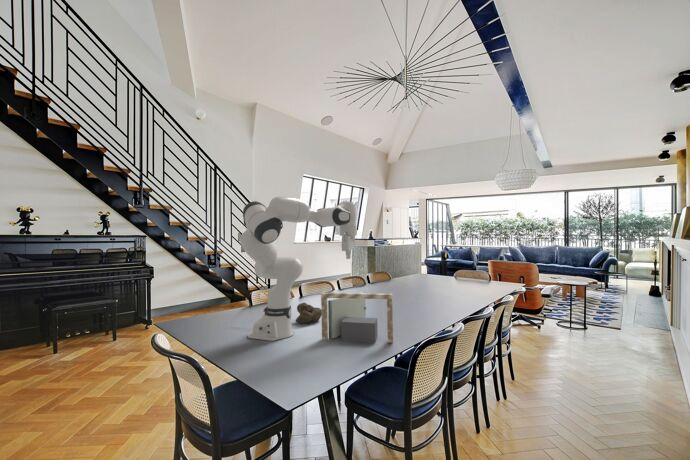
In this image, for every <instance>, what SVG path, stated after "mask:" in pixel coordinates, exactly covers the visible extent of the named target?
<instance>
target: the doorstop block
mask: <svg viewBox="0 0 690 460" xmlns="http://www.w3.org/2000/svg"><path fill="white" fill-rule="evenodd" d="M340 336H341V341H344V342H358V343H359V342H361V343H373V342H375V343H376V342H377V339H378V317H366V318H364V317H345V318H344V319H343V320H342V321H341V335H340Z"/></svg>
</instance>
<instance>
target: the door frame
mask: <svg viewBox="0 0 690 460" xmlns="http://www.w3.org/2000/svg"><path fill="white" fill-rule="evenodd" d="M320 295H321V296H320V299H321V300H320V305H321V306H320V307H321V308H320V309H321V341H327V340H328V339H329V321H328V299H336V298H354V299H365V300H369V299H370V300H386V314H387V315H386V323H387V325H386V328H387V344H394V320H393V319H394V318H393V317H394V316H393V315H394V314H393V311H394V310H393V293H369V292H368V293H366V292H365V293H361V292H357V293H356V292H320Z"/></svg>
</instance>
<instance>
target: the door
mask: <svg viewBox="0 0 690 460" xmlns="http://www.w3.org/2000/svg"><path fill="white" fill-rule="evenodd" d="M360 293H366V291H361V292H360ZM366 310H367V306H366V299H354V298H331V299H329V300H327V311H328V339H329V340H331V339H334V338H337V337H340V336H341V321H342V320H343V319H344V318H345V317H364V318H367V316H366V314H367V313H366Z"/></svg>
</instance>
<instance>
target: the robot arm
mask: <svg viewBox="0 0 690 460" xmlns="http://www.w3.org/2000/svg"><path fill="white" fill-rule="evenodd" d="M268 204H269V205H268V206H267V207H266V205H264V204H263V203H262V202H260V201H256V200H254V201H250V202H248V203H247V204H245V206H244V207H243V210H242V217H243V226H245V227H246V230H245V231H244V232H243V233H242V234H241V235H240V237H239V243H240V246H241V247H242V249H243V251H244V252H245V253H246V254H247V255H248V256H249V257H250V258H251V259H252V260H253V261H254V263H255V264H254V267H253V268H254V274H255V275H256V276H257V277H259V278H262V279H268V280H276V283H275V285H274V286H273V287H271V288H270V289H269V290H268V292H267V306H266V307H264V309H263V310H262V311H263V313H264V314H263V315H262V316H260V317H259V318H258V319H257V320H256V321H254V323H253V326H252V330H251V331H250V332H248V334H247V338H248V339H254V340H256V339H257V340H263V341H270V342H271V341H272V342H273V341H277V340H281V339H286V338H289V337H292V336H293V335H294V334H295V333H294V329H293V324H292V305H291V291H292V287H293V285H294V283H295V281H296V280H298V279H299V278H300V277H301V275H302V274H303V269H304V268H303V267H304V266H303V263H302V262H301V260H300V259H298V258H295V257H289V256H288V257H287V256H286V257H282V256H281V257H279V256H278V251H277V248H276V247H275V246H274V245H273V243H274V242H275V241H276V240H277V239H278V238H279V236H280V235H281V231H282V229H283V228H284V227H283V226H284V224H283V222H289V223H305V222H309V223H310V222H311V223H314V224H315V225H316V226H318V227H320V228H327V227H339V236H340V237H341V251H342V252H345V258H346V260H351V253H352V250H354V249H355V245H356V244H355V243H356V242H355V241H356V236H357V224H356V221H357V211H356V206H355V203H353V202H352V201H347V200H345V201H340V203H339V204H338V205H336V206H334V207H327V208H325V207H322V208H321V207H320V208H318V209H313V208H312V209H311V206H310V204H309V203H308V202H307V201H306V200H304V199H301V198H297V197H292V196H275V197H274V198H272V199H271V200H270V201H269V203H268Z"/></svg>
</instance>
